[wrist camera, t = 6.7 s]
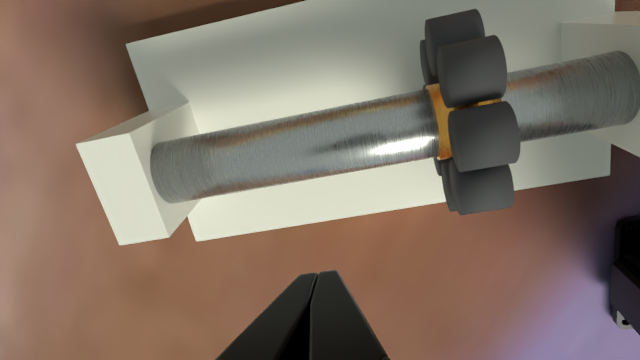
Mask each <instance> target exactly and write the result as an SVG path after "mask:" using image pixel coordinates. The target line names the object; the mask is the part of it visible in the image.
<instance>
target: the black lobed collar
mask: <svg viewBox="0 0 640 360" xmlns="http://www.w3.org/2000/svg"><path fill="white" fill-rule="evenodd" d="M420 60H421V68H422V73H423V78H424V82H425V85H423V89H425V88H426V86H428V85H433V84H438V83H439V86H440V91H441V95H442V99H443V102H444V104H445V106H446V107H447V108H453V107H458V106H463V105H469V104H474V103H479V102H484V101H489V100H495V99H500V98H502V97H503V96H504V94H505V92H506V87H507V65H506V58H505V53H504V49H503V46H502V44H501V42H500V40H499V38H498V37H497V36H496V35H491V36H486V37H485V30H484V25H483V21H482V18H481V15H480V13H479V11H478V10H477V9H471V10H467V11H462V12H458V13H453V14H449V15H444V16H440V17H435V18H431V19H427V20H426V21H425V40H421V41H420ZM448 132H449V140H450V146H451V151H452V155H453V158H447V159H441V160H438V159H437V157H436V158H433V159H434V164H435V168H436V171H437V174H438V175H439V176H442V184H443V189H444V194H445V198H446V202H447V205H448V208H449V210H450V211H451V212H452V211H458V213H459V214H460V215H465V214H472V213H478V212H485V211H491V210H498V209H504V208H510V207H512V205H513V202H514V185H513V179H512V174H511V170H510V167H509V164H512V163H516V162H517V161H518V159H519V155H520V132H519V127H518V122H517V119H516V115H515V113H514V110H513V108H512V107H511V105H510V104H509V103H508V102H507V101H501V102H496V103H491V104H486V105H480V106H475V107H470V108H465V109H459V110H454V111H450V112H449V115H448Z"/></svg>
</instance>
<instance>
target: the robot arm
mask: <svg viewBox="0 0 640 360" xmlns="http://www.w3.org/2000/svg"><path fill="white" fill-rule="evenodd" d="M631 225H632V227H631V229H629V230H627V231H626V229H627V228H628V227H629V226H631ZM610 302H611V304H612V305H613V314H612V318H613V321H614V322H615V323H616V324H617V326H618V327H619V328H622V329H632V328H634V329H635V330H636V332H637V333H638V334H639V335H640V215H638V216H631V217H626V218H623V219H621V220H620V221H618V223H617V224H616V228H615V256H614V260H613V262H612V263H611V288H610ZM624 318H625V320H623V319H624ZM215 360H390V359H389V358H388V356H387V354H386V352H385V350H384V349H383V347H382V345H381V344H380V342H379V340H378V339H377V337H376V335H375V333H374V332H373V330H372V328H371V327H370V325H369V323H368V322H367V320H366V318H365V316H364V315H363V313H362V311H361V310H360V308H359V306H358V305H357V303H356V301H355V299H354V298H353V296H352V294H351V293H350V291H349V289H348V288H347V286H346V284H345V282H344V281H343V279H342V277H341V276H340V274H339V272H338V271H337V270H330V271H323V272H320V273H319V274H318V273H308V274H301V275H299V276H298V277H297V278H296V279H295V280H294V281H293V282H292V283H291V284H290V285H289V286H288V287H287V288H286V289H285V290H284V291H283V292H282V293H281V294H280V295H279V296H278V297H277V298H276V299H275V300H274V301H273V302H272V303H271V304H270V305H269V306H268V307H267V308H266V309H265V310H264V311H263V312H262V313H261V314H260V315H259V316H258V317H257V318H256V319H255V320H254V321H253V322H252V323H251V324H250V325H249V326H248V327H247V328H246V329H245V330H244V331H243V332H242V333H241V334H240V335H239V336H238V337H237V338H236V339H235V340H234V341H233V342H232V343H231V344H230V345H229V346H228V347H227V348H226V349H225V350H224V351H223V352H222V353H221V354H220V355H219V356H218V357H217V358H216V359H215Z"/></svg>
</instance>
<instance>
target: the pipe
mask: <svg viewBox="0 0 640 360" xmlns="http://www.w3.org/2000/svg"><path fill="white" fill-rule="evenodd" d="M501 101H507V102H508V103H509V104H510V105H511V107H512V108H513V110H514V113H515V115H516V119H517V122H518V127H519V132H520V143H521V142H527V141H533V140H538V139H544V138H550V137H555V136H561V135H567V134H572V133H578V132H584V131H589V130H595V129H601V128H607V127H612V126H618V125H624V124H627V123H629V122H631V121H632V120H633V119H634V118H635V116H636V114H637V113H638V110H639V107H640V74H639V71H638V69H637V66H636V64H635V63H634V61H633V60H632V58H631V57H630V56H629V55H628V54H626V53H624V52H622V51H613V52H608V53H603V54H598V55H593V56H588V57H583V58H578V59H573V60H568V61H563V62H558V63H553V64H548V65H543V66H538V67H533V68H528V69H523V70H518V71H513V72H508V73H507V87H506V92H505V94H504V96H503V97H502V98H500V99H495V100H489V101H484V102H479V103H474V104H469V105H463V106H458V107H453V108H447V107H446V106H445V104H444V102H443V99H442V95H441V91H440V86H439V83H438V84H433V85H428V86H426V88H425V89H423V90H418V91H413V92H408V93H403V94H398V95H393V96H388V97H383V98H378V99H373V100H368V101H363V102H358V103H353V104H348V105H343V106H338V107H333V108H328V109H323V110H318V111H313V112H308V113H303V114H298V115H293V116H288V117H283V118H278V119H273V120H268V121H263V122H258V123H253V124H248V125H243V126H238V127H233V128H228V129H223V130H218V131H213V132H208V133H203V134H198V135H193V136H188V137H183V138H178V139H173V140H168V141H163V142H158V143H157V144H155V146H154V147H153V149H152V151H151V155H150V172H151V177H152V181H153V184H154V186H155V188H156V190H157V192H158V194H159V195H160V197H161V198H162V199H163V200H164V201H166V202H167V203H170V204H174V203H180V202H185V201H191V200H197V199H202V198H208V197H214V196H220V195H225V194H231V193H237V192H242V191H248V190H254V189H259V188H265V187H271V186H276V185H282V184H288V183H294V182H299V181H305V180H311V179H316V178H322V177H328V176H333V175H339V174H345V173H350V172H356V171H362V170H368V169H373V168H379V167H385V166H390V165H396V164H402V163H407V162H413V161H419V160H424V159H430V158H436V157H437V159H438V160H441V159H447V158H453V155H452V151H451V146H450V140H449V132H448V115H449V112H450V111H454V110H459V109H465V108H470V107H475V106H480V105H486V104H491V103H496V102H501Z"/></svg>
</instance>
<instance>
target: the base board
mask: <svg viewBox="0 0 640 360" xmlns="http://www.w3.org/2000/svg"><path fill="white" fill-rule="evenodd" d="M471 9H477V10H478V11H479V13H480V15H481V18H482V21H483V25H484V30H485V37H486V36H491V35H496V36H497V37H498V38H499V40H500V42H501V44H502V46H503V49H504V53H505V58H506V65H507V73H508V72H513V71H518V70H523V69H528V68H533V67H538V66H543V65H548V64H553V63H558V62H563V61H568V60H573V59H578V58H583V57H588V56H593V55H598V54H603V53H608V52H613V51H622V52H624V53H626V54H628V55H629V56H630V57H631V58H632V60H633V61H634V63H635V64H636V66H637V69H638V71H639V74H640V11H617V12H615V0H306V1H302V2H298V3H294V4H289V5H285V6H281V7H277V8H273V9H269V10H264V11H260V12H256V13H252V14H248V15H244V16H239V17H235V18H231V19H227V20H223V21H219V22H214V23H210V24H206V25H202V26H198V27H194V28H189V29H185V30H181V31H177V32H173V33H169V34H164V35H160V36H156V37H152V38H148V39H144V40H139V41H135V42H131V43H127V44H125V45H126V47H127V50H128V53H129V56H130V59H131V61H132V64H133V67H134V70H135V72H136V75H137V78H138V81H139V84H140V86H141V89H142V92H143V95H144V97H145V100H146V103H147V106H148V109H149V111H147V112H145V113H143V114H140V115H138V116H136V117H134V118H132V119H129V120H127V121H125V122H123V123H121V124H118V125H116V126H114V127H112V128H110V129H108V130H105V131H103V132H101V133H99V134H97V135H94V136H92V137H90V138H88V139H86V140H83V141H81V142H79V143H77V144H76V146H77V148H78V151H79V153H80V155H81V158H82V160H83V162H84V165H85V167H86V169H87V171H88V174H89V176H90V178H91V181H92V183H93V185H94V188H95V190H96V192H97V195H98V197H99V199H100V201H101V204H102V206H103V208H104V211H105V213H106V215H107V218H108V220H109V222H110V224H111V227H112V229H113V231H114V234H115V236H116V238H117V241H118V243H119V245H126V244H132V243H138V242H144V241H150V240H156V239H163V238H169V237H170V236H171V235H172V233H173V232H174V231H175V230H176V229H177V227H178V226H179V225H180V224H181V223H182V221H183V220H184V219H185V218H186V217H188V220H189V223H190V225H191V228H192V231H193V234H194V236H195V239H196V242H197V241H203V240H209V239H216V238H222V237H228V236H234V235H241V234H247V233H253V232H259V231H266V230H272V229H278V228H284V227H291V226H297V225H303V224H309V223H315V222H322V221H328V220H334V219H340V218H347V217H353V216H359V215H365V214H372V213H378V212H384V211H390V210H397V209H403V208H409V207H415V206H422V205H428V204H434V203H440V202H446V198H445V194H444V189H443V184H442V176H439V175H438V174H437V171H436V168H435V164H434V159H433V158H430V159H424V160H419V161H413V162H407V163H402V164H396V165H390V166H385V167H379V168H373V169H368V170H362V171H356V172H350V173H345V174H339V175H333V176H328V177H322V178H316V179H311V180H305V181H299V182H294V183H288V184H282V185H276V186H271V187H265V188H259V189H254V190H248V191H242V192H237V193H231V194H225V195H220V196H214V197H208V198H202V199H197V200H191V201H185V202H180V203H174V204H170V203H167V202H166V201H164V200H163V199H162V198H161V197H160V195H159V194H158V192H157V190H156V188H155V186H154V184H153V181H152V177H151V172H150V155H151V151H152V149H153V147H154V146H155V144H157V143H158V142H163V141H168V140H173V139H178V138H183V137H188V136H193V135H198V134H203V133H208V132H213V131H218V130H223V129H228V128H233V127H238V126H243V125H248V124H253V123H258V122H263V121H268V120H273V119H278V118H283V117H288V116H293V115H298V114H303V113H308V112H313V111H318V110H323V109H328V108H333V107H338V106H343V105H348V104H353V103H358V102H363V101H368V100H373V99H378V98H383V97H388V96H393V95H398V94H403V93H408V92H413V91H418V90H423V85H425V82H424V78H423V73H422V68H421V60H420V41H421V40H425V21H426V20H427V19H431V18H435V17H440V16H444V15H449V14H453V13H458V12H462V11H467V10H471ZM611 144H613V145H615V146H617V147H620V148H622V149H624V150H626V151H628V152H630V153H632V154H634V155H636V156H638V157H640V107H639V110H638V113H637V114H636V116H635V118H634V119H633V120H632V121H631V122H629V123H627V124H624V125H618V126H612V127H607V128H601V129H595V130H589V131H584V132H578V133H572V134H567V135H561V136H555V137H550V138H544V139H538V140H533V141H527V142H521V143H520V155H519V159H518V161H517V162H516V163H512V164H509V167H510V170H511V174H512V179H513V185H514V191H515V190H522V189H528V188H534V187H540V186H547V185H553V184H559V183H565V182H572V181H578V180H584V179H590V178H597V177H603V176H609V175H610V161H611Z"/></svg>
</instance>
